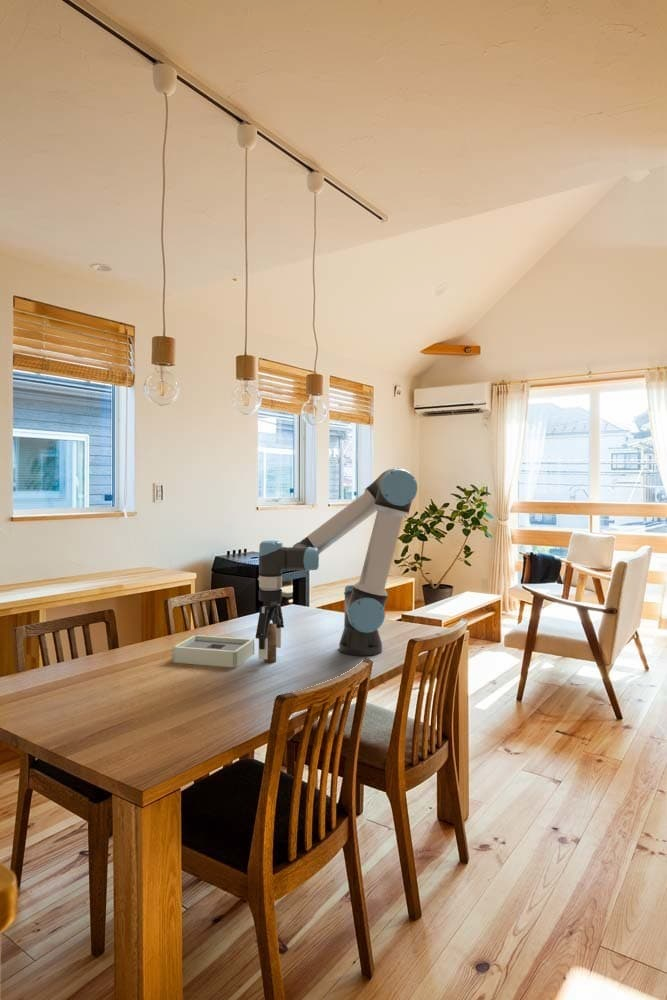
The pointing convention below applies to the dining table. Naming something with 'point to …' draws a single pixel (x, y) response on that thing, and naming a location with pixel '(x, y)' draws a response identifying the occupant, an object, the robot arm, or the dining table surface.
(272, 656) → the peg
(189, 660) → the box
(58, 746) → the dining table surface
